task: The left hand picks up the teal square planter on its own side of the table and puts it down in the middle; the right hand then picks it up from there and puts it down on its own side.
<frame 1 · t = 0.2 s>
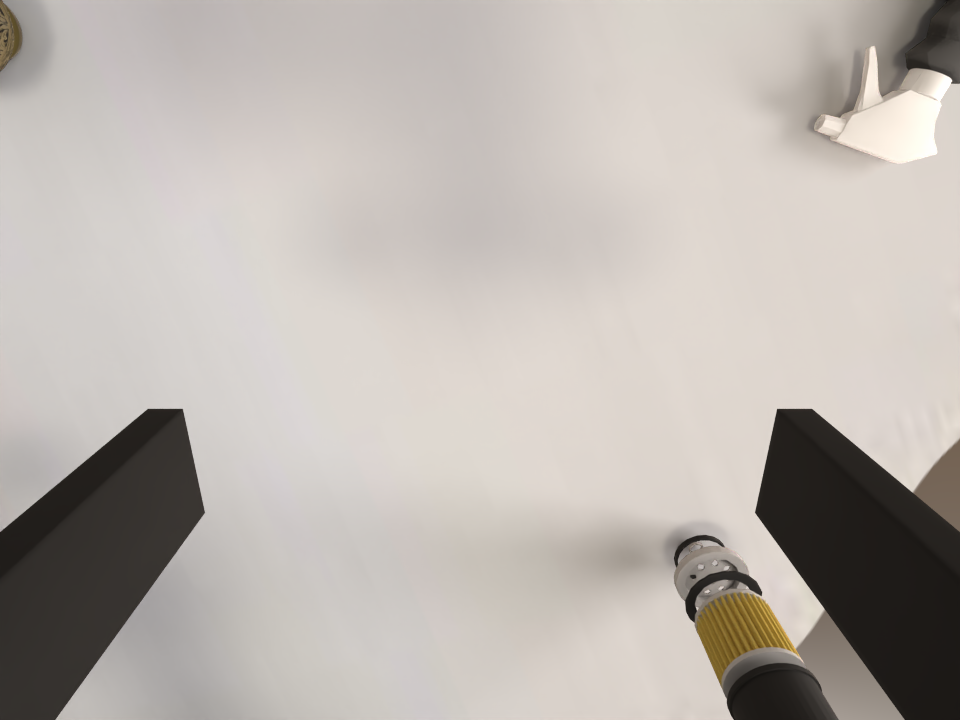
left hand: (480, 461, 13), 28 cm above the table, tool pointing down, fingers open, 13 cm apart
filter: (694, 545, 48), on the table
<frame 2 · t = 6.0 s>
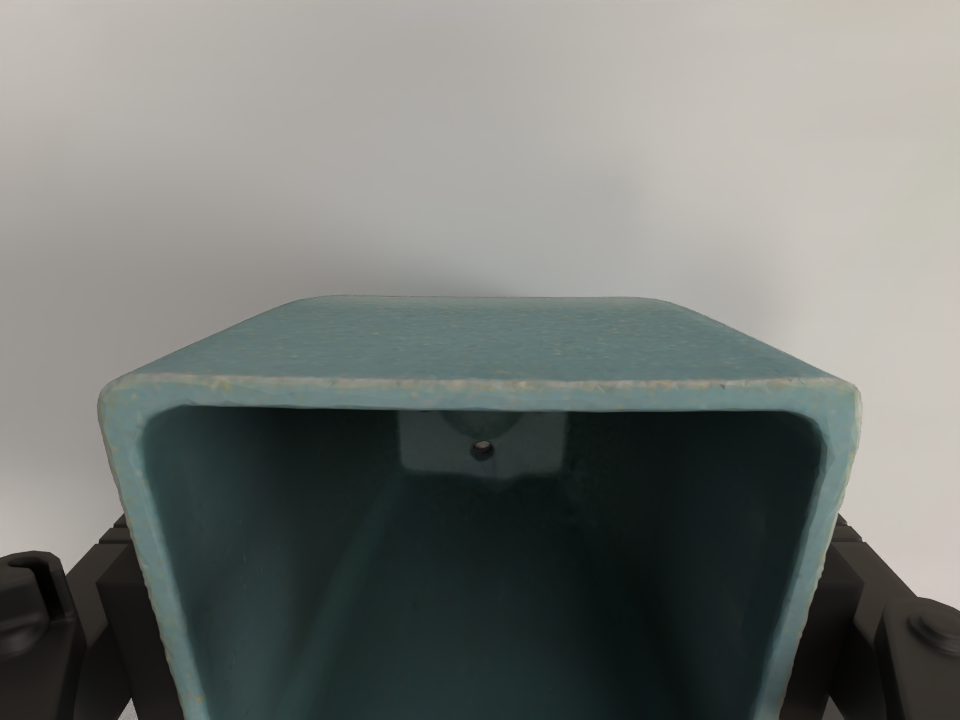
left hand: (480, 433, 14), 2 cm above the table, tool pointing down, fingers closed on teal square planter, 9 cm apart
teal square planter: (479, 395, 16), on the table, touching left hand
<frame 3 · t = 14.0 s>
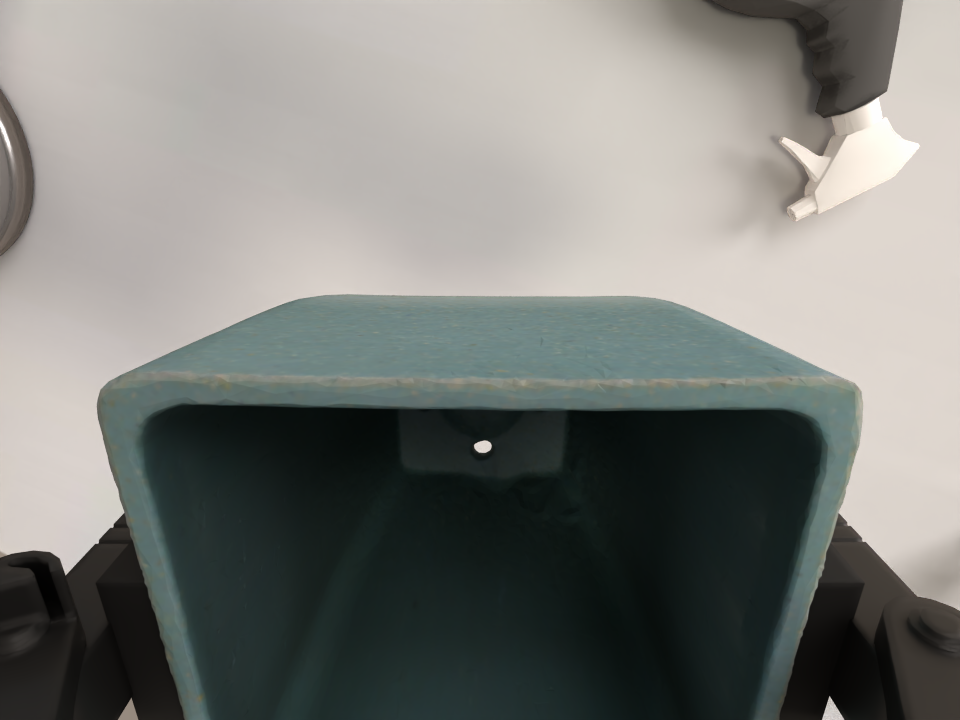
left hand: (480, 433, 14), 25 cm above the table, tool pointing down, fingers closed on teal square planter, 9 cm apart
teal square planter: (479, 394, 16), point 22 cm above the table, touching left hand
when the left hand's fingers open (3 cm above the table, at t = 22.4 s): teal square planter drops 1 cm, on the table.
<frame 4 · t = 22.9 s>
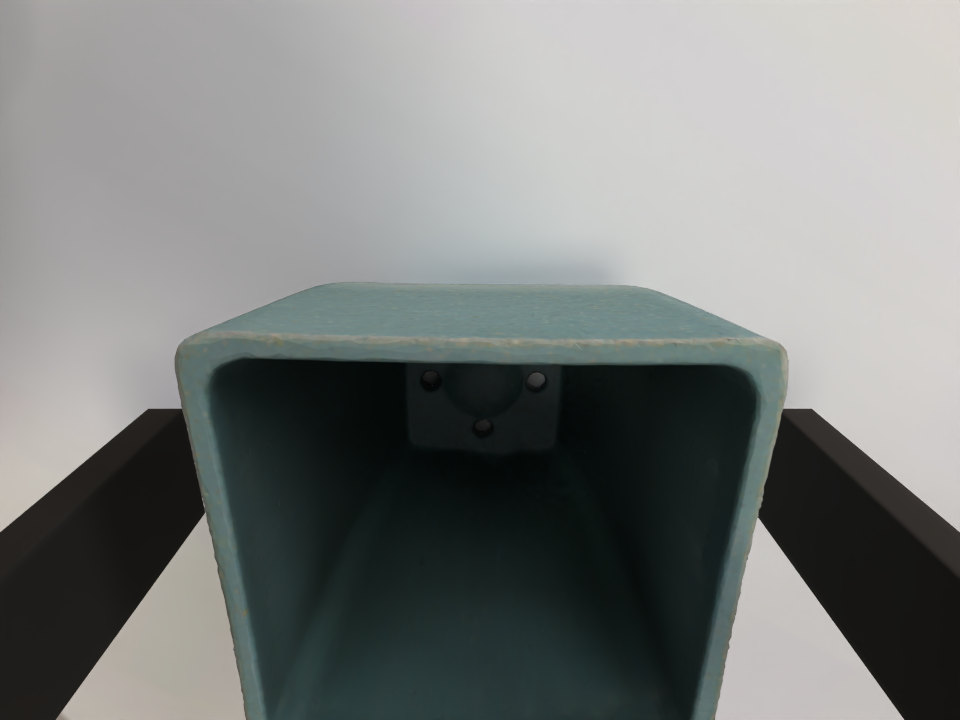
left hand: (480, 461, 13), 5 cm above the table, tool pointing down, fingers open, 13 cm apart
teal square planter: (480, 377, 18), on the table
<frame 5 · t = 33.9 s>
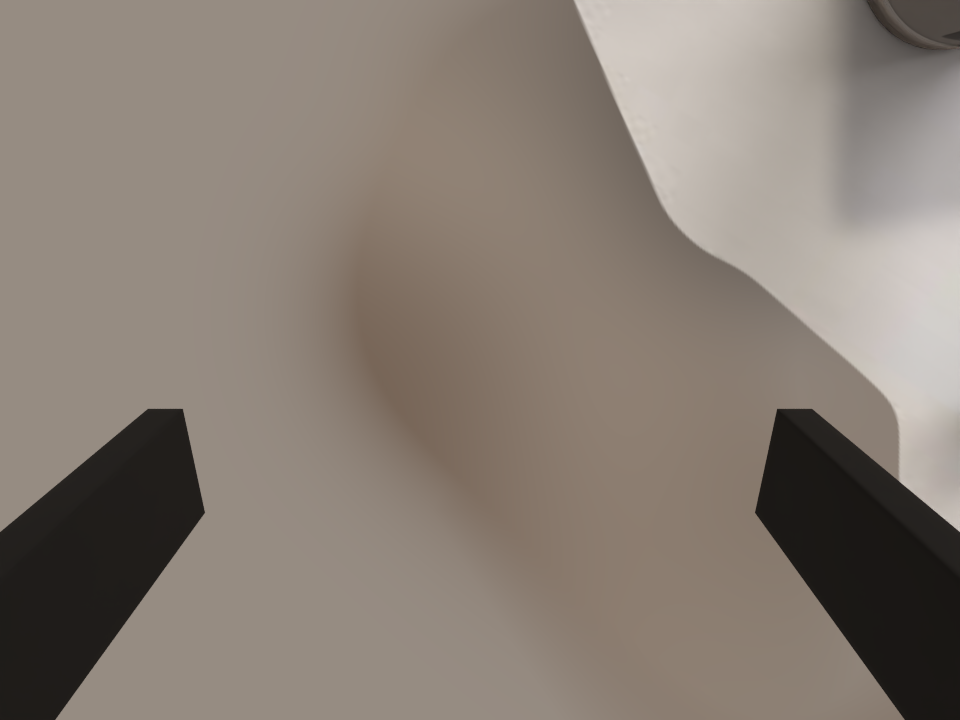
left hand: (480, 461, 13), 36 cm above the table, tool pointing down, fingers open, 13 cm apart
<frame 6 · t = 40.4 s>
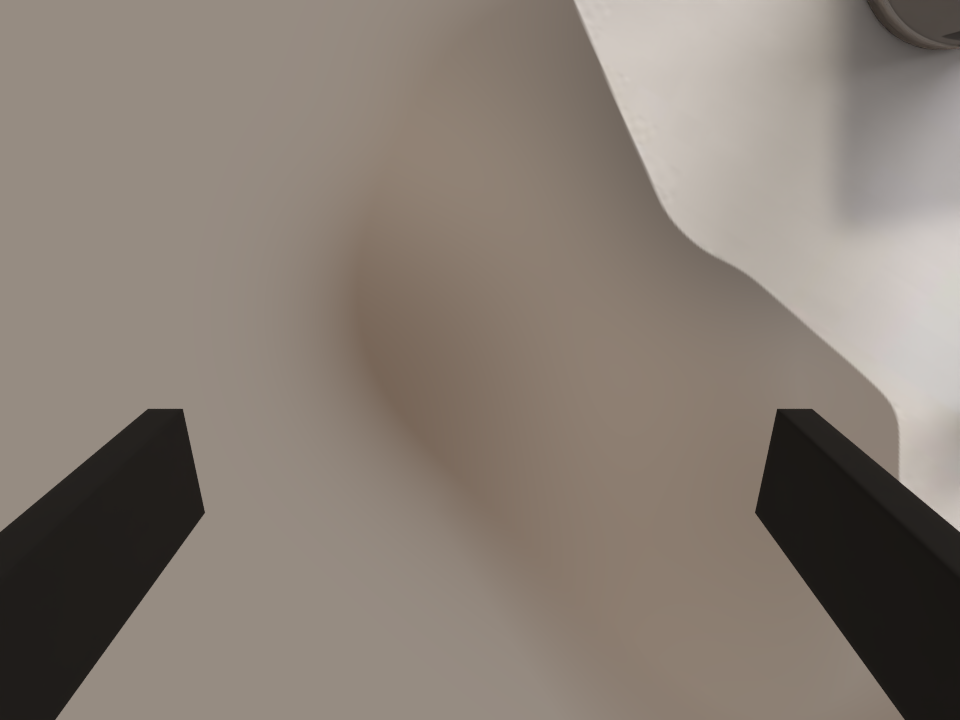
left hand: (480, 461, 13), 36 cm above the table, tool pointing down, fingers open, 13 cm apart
when the right hand's fingers open (3 cm above the table, at t = 46.8 s): teal square planter drops 1 cm, on the table.
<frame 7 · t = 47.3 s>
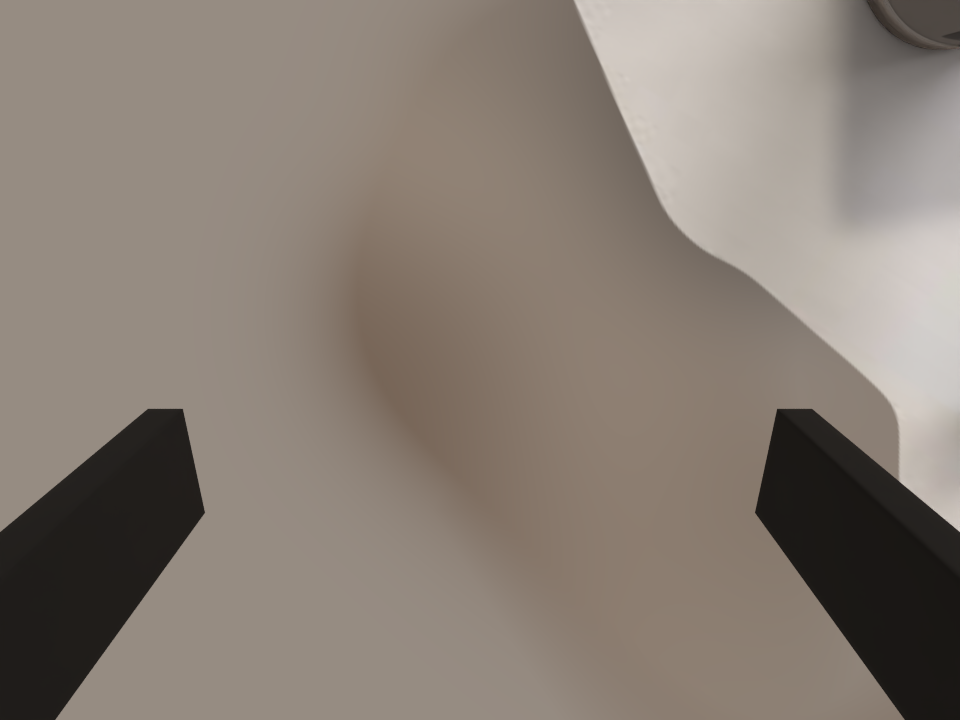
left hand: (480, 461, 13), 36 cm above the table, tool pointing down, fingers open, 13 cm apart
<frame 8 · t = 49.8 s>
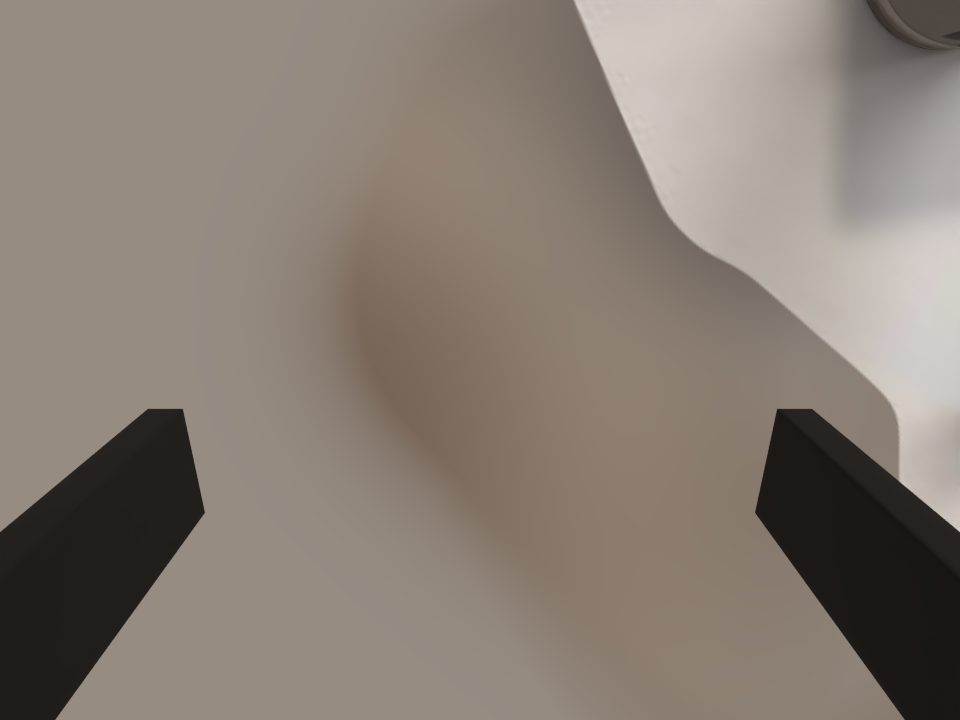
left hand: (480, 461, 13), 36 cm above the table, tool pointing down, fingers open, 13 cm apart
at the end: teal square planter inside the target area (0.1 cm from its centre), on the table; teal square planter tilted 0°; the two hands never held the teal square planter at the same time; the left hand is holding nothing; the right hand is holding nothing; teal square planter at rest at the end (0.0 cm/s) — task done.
